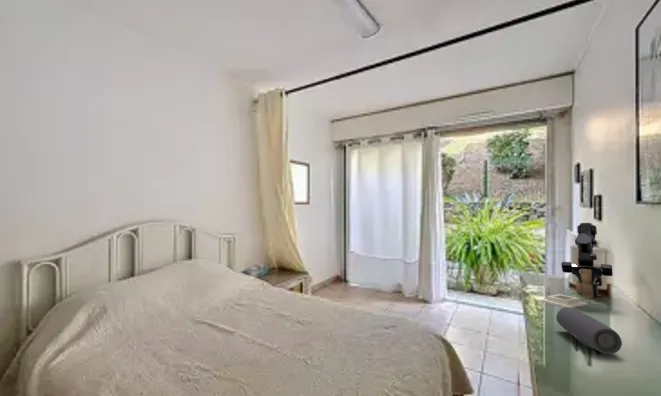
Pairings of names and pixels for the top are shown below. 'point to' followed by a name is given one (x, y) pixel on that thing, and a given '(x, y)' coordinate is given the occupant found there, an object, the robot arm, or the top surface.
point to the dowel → (586, 283)
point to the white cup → (556, 284)
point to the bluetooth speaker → (589, 331)
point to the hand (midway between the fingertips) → (586, 283)
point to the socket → (564, 301)
